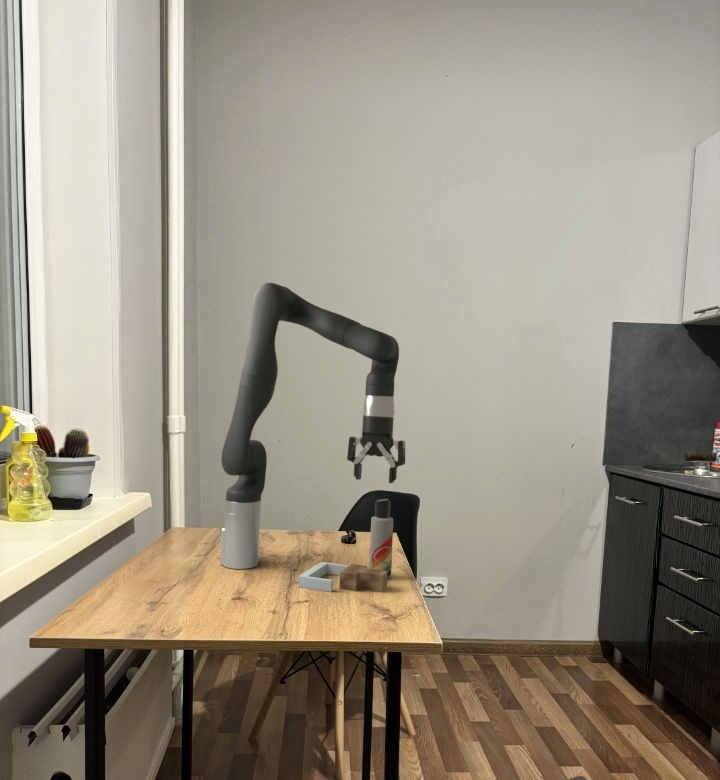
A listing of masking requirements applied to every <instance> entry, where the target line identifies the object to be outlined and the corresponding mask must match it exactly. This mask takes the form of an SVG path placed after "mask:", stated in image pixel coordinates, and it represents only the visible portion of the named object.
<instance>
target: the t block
mask: <svg viewBox="0 0 720 780" xmlns="http://www.w3.org/2000/svg"><path fill="white" fill-rule="evenodd" d="M387 588H388V579H387V571H383V570H376V569H369V568H367V565H364V564H356V563H350V564H349V565H348V567H347V568H345V569H344V570H343V571H341V572H340V575H339V590H345V591H352V592H357V590H363V591H370V592H377V593H383V592H385V590H386V589H387Z"/></svg>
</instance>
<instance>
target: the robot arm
mask: <svg viewBox="0 0 720 780" xmlns="http://www.w3.org/2000/svg"><path fill="white" fill-rule="evenodd" d="M252 300H253V301H252V308H251V318H250V328H249V335H248V341H247V346H246V351H245V357H244V362H243V365H242V370H241V375H240V378H239V379H240V381H239V384H238V389H237V390H238V391H237V396H236V401H235V406H234V410H233V413H232V417H231V421H230V423H229V424H230V425H229V428H228V431H227V433H226V436H225V437H226V438H225V440H224V442H223V443H224V444H223V447H222V451H221V458H220V461H221V465H222V469H223V471H224V472H225V473H226V475H229V476H235V477H237V476H238V478H237V480H236V482H234V484H232V485H231V486H230V487H229V488H227V490H226V492H225V493H226V494H225V510H224V511H225V514H224V515H225V517H224V527H222V528H221V530H220V531H221V532H220V552H219V553H220V554H219V555H220V556H219V557H220V558H219V566H224V567H226V568H228V569H233V570H234V569H235V570H236V569H237V570H238V569H239V570H243V569H244V570H245V569H251V568H255V567H257V566H258V565H259V555H260V554H259V552H260V535H261V534H260V533H261V532H260V529H261V507H262V504H261V503H262V494H263V492H264V489H265V485H266V484H265V483H266V473H267V463H268V461H267V460H268V456H267V450H266V448H265V446H264V444H263V443H262V442H261V441H259V440H255V439H251V438H252V433H253V430H254V427H255V425H256V423H257V421H258V420H259V419H260V417H261V415H262V414H263V412H265V410H266V409H267V407H268V405H270V404H269V403H270V402H271V400H272V398H273V396H274V393H275V389H276V384H277V383H276V382H277V379H278V372H279V371H278V369H279V368H278V360H277V359H278V357H277V352H276V334H277V331H278V326H279V323H280V322H286V323H292V324H296V325H299V326H301V327H305V328H306V329H309V330H311V331H313V332H314V333H316V334H318V335H319V336H321V337H323V338H324V339H326V340H329V341H330V342H333V343H335V344H337V345H340V346H342V347H343V348H346V349H349V350H353V351H354V352H356V353H359V355H362V356H364V357H365V358H368V359H369V360H371V364H370V365H371V367H370V372H368V374H367V376H366V378H365V379H366V380H365V391H364V392H365V393H364V394H365V396H364V401H363V410H362V411H363V413H362V414H363V415H362V428H361V430H362V431H361V437H357V436H350V437H349V439H348V444H347V445H348V446H347V454H346V455H347V457H346V459H347V461H349V462H352V463H353V465H354V466H353V477H355V480H362V472H363V471H362V468H363V463H362V462H363V461H364V459H365V458H366V457H367V456H370V457H373V456H376V457H379V458H380V457H384V459H385V460H386V461H387V463H388V464H389V470H388V471H389V473H388V484H393V483H394V482H395V481H396V480H397V474H398V467H400V466H403V465H405V464H406V441H405V440H403V439H402V440H395V439H394V436H393V435H394V420H395V419H394V416H395V401H394V398H395V397H394V396H395V376H396V373H397V369H398V368H397V367H398V364H399V358H400V347H399V342H398V340H397V339H396V338H395V337H393V336H392V335H390V334H387V333H385V332H384V331H383V332H382V331H380V330H377V329H374V328H372V327H369V326H366V325H363V324H361V323H360V322H359V321H356V320H353V319H351V318H349V317H346V316H344V315H341V314H339V313H336V312H334V311H330V310H327V309H325V308H322V307H320V306H318V305H315V304H313V303H311V302H309V301H308V300H305V298H303V297H301V296H300V295H298V294H297V293H295V292H294V291H292V290H291V289H290V288H288V287H286V286H283V285H280V284H277V283H275V282H274V283H273V282H265V283H263V284H261V285H260V286H259V287H258V288H257V290H256V291H255V293H254V296H253V299H252ZM359 443H360V445H361V447H362V449H361V451H359V453H358V455H357V456H356V452H357V451H356V450H357V446H359ZM393 446H394V447H395V449H396V450H397V460H396V458H395V455H394V454H393V452H392V451H391V449H392V448H393Z"/></svg>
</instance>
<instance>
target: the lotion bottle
mask: <svg viewBox="0 0 720 780" xmlns="http://www.w3.org/2000/svg"><path fill="white" fill-rule="evenodd" d="M374 509H375V511H374V515H375V516H372V517H371V520H370V538H369V539H370V544H369V566H368V567H369V568H368V569H376V570H383V571H387V580H389V579H390V578H391V577H392V563H393V540H394V538H393V537H394V535H393V534H394V518H393V517H391V501H390V499H389V498H380V499H379V498H378V499H376V500H375V506H374Z"/></svg>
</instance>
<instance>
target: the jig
mask: <svg viewBox="0 0 720 780" xmlns="http://www.w3.org/2000/svg"><path fill="white" fill-rule="evenodd" d="M348 566H349V565H346V564H339V563H332V562H325V561H319V563H317V564H316V565H314V566H312V567H311V568H309V569H308V570H306V571H303V573H301V574H300V575H298V577H297V580H298V581H297V587H298V588H304V589H309V590H316V591H322V592H323V591H324V592H330V593H331V592H333V589H334V588H333V587H334V586H333V585H334V580H333V579H329V578H322V577H324V575H326V574H329V575H335V576H340V572H341V571H343V570H344V569H345V568H347V567H348Z"/></svg>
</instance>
